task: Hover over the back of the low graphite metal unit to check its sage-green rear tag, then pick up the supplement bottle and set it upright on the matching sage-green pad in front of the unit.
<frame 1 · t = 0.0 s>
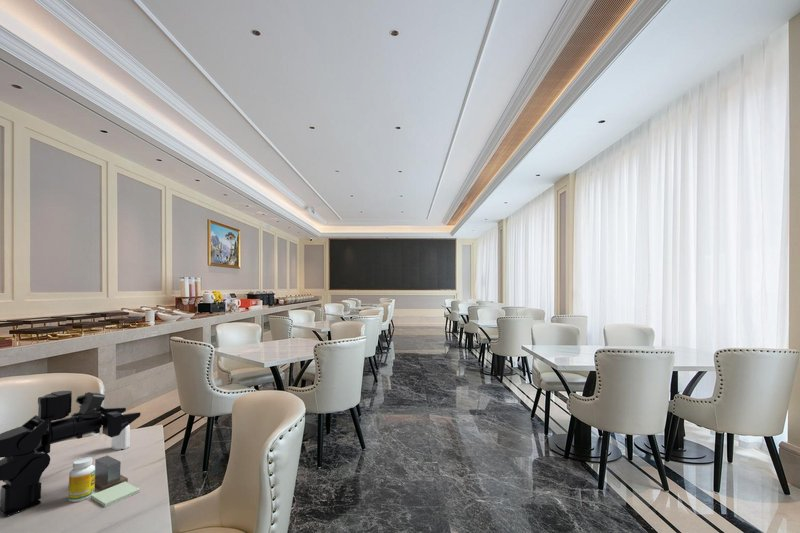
hand: (132, 411, 119), 17 cm above the table, tool horizontal, fingers open, 9 cm apart
sage pad: (115, 495, 102), on the table
eye dropper bottle: (120, 448, 131), on the table
mounted unit: (107, 482, 108), on the table
supplement bottle: (81, 497, 101), on the table
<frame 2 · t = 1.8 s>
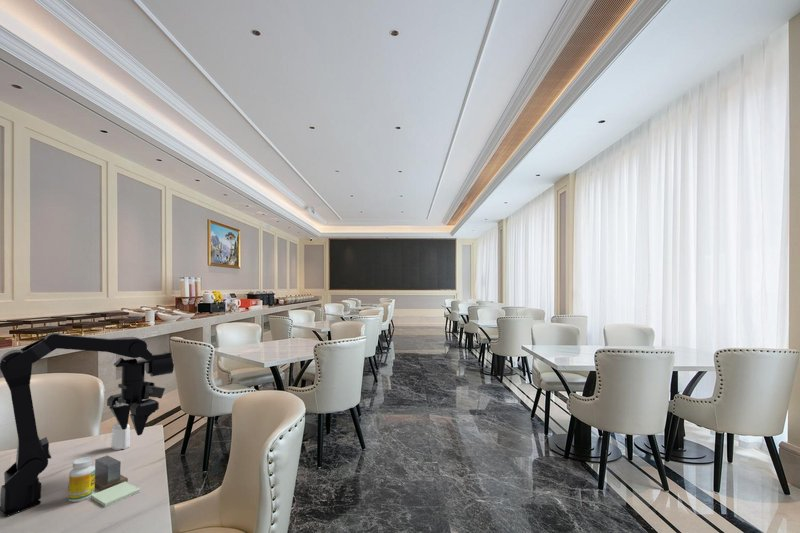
hand: (131, 432, 114), 12 cm above the table, tool pointing down, fingers open, 9 cm apart
nothing on the table moved.
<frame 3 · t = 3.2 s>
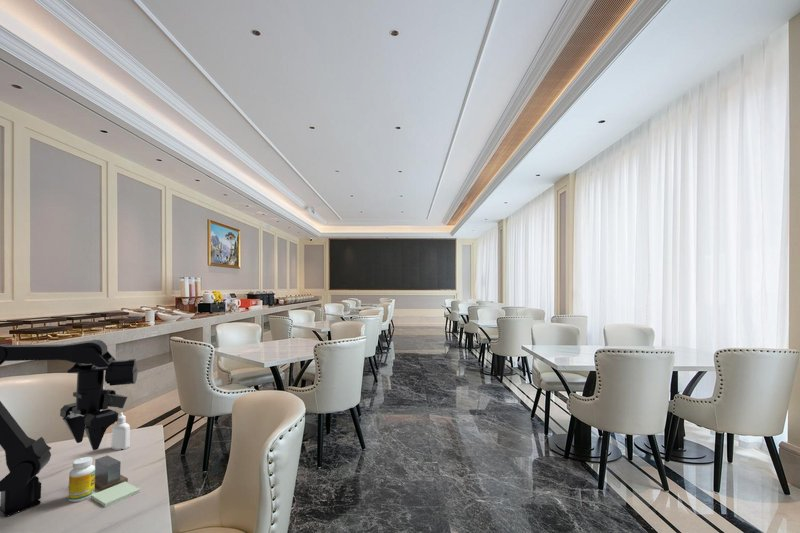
hand: (87, 445, 103), 13 cm above the table, tool pointing down, fingers open, 9 cm apart
nothing on the table moved.
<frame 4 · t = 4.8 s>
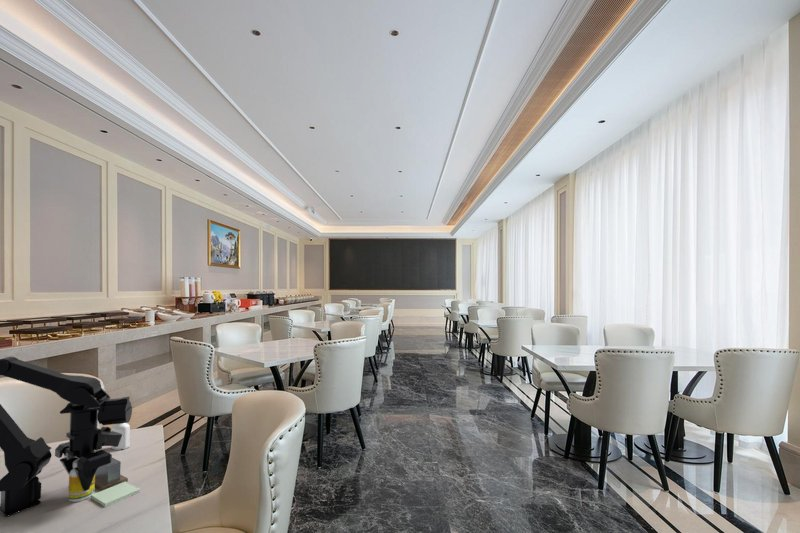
hand: (81, 487, 101), 3 cm above the table, tool pointing down, fingers closed on supplement bottle, 5 cm apart
supplement bottle: (81, 497, 101), on the table, touching gripper
everything else where it was.
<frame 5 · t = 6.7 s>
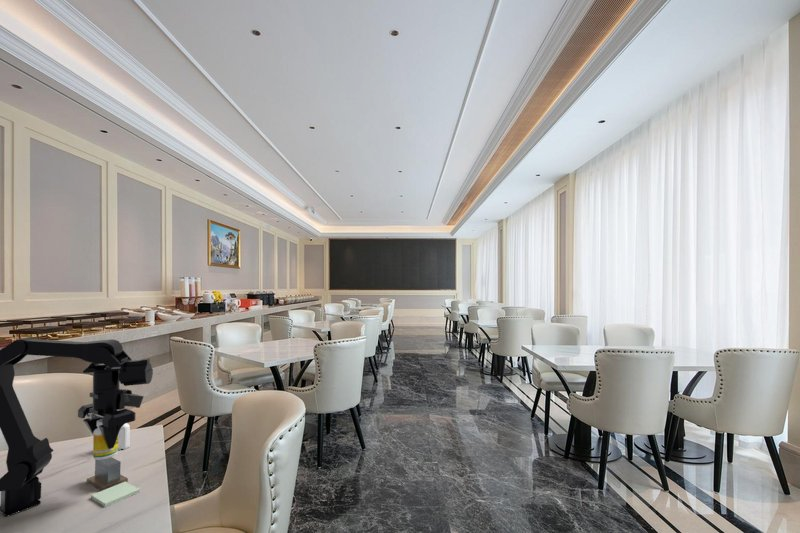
hand: (105, 446, 102), 13 cm above the table, tool pointing down, fingers closed on supplement bottle, 5 cm apart
supplement bottle: (105, 456, 102), point 10 cm above the table, touching gripper
everything else where it was.
when the fingers open (4 cm above the table, at t = 8.8 s): supplement bottle stays where it is, resting on sage pad.
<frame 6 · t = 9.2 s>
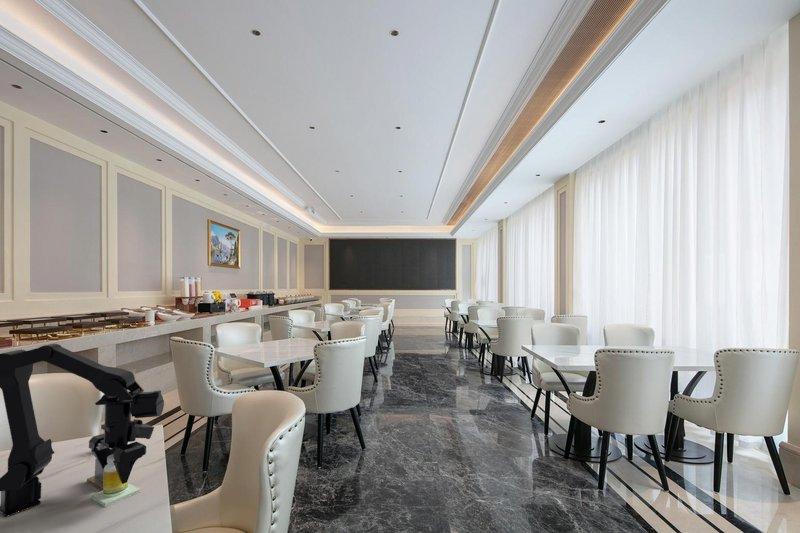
hand: (116, 478, 102), 4 cm above the table, tool pointing down, fingers open, 9 cm apart
supplement bottle: (115, 492, 102), point 1 cm above the table, touching sage pad
everything else where it was.
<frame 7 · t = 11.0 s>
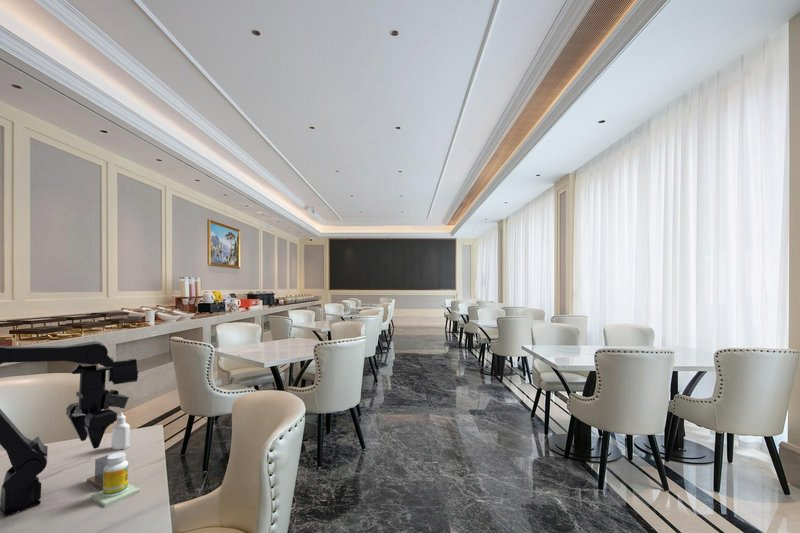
hand: (89, 444, 106), 12 cm above the table, tool pointing down, fingers open, 9 cm apart
nothing on the table moved.
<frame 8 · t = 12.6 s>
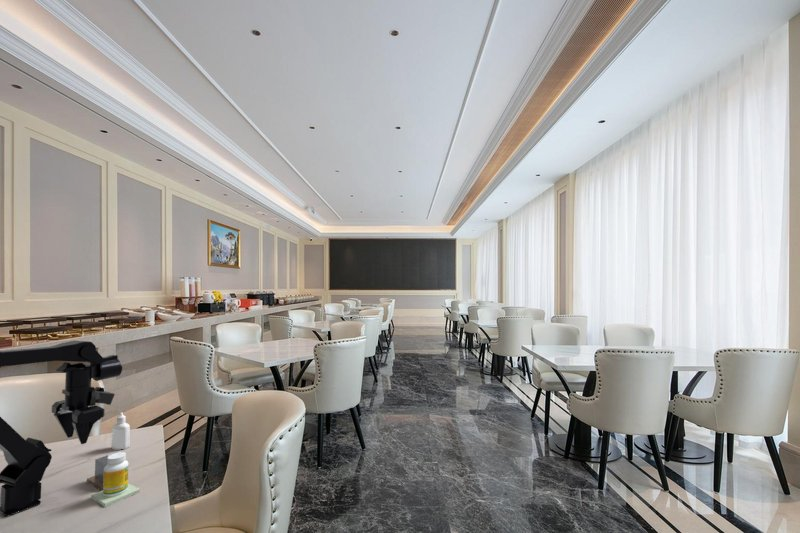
hand: (76, 440, 108), 12 cm above the table, tool pointing down, fingers open, 9 cm apart
nothing on the table moved.
at the end: supplement bottle 0.1 cm off-centre on the sage pad, point 0.6 cm above the sage pad's base; supplement bottle tilted 0°; the gripper is holding nothing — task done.
